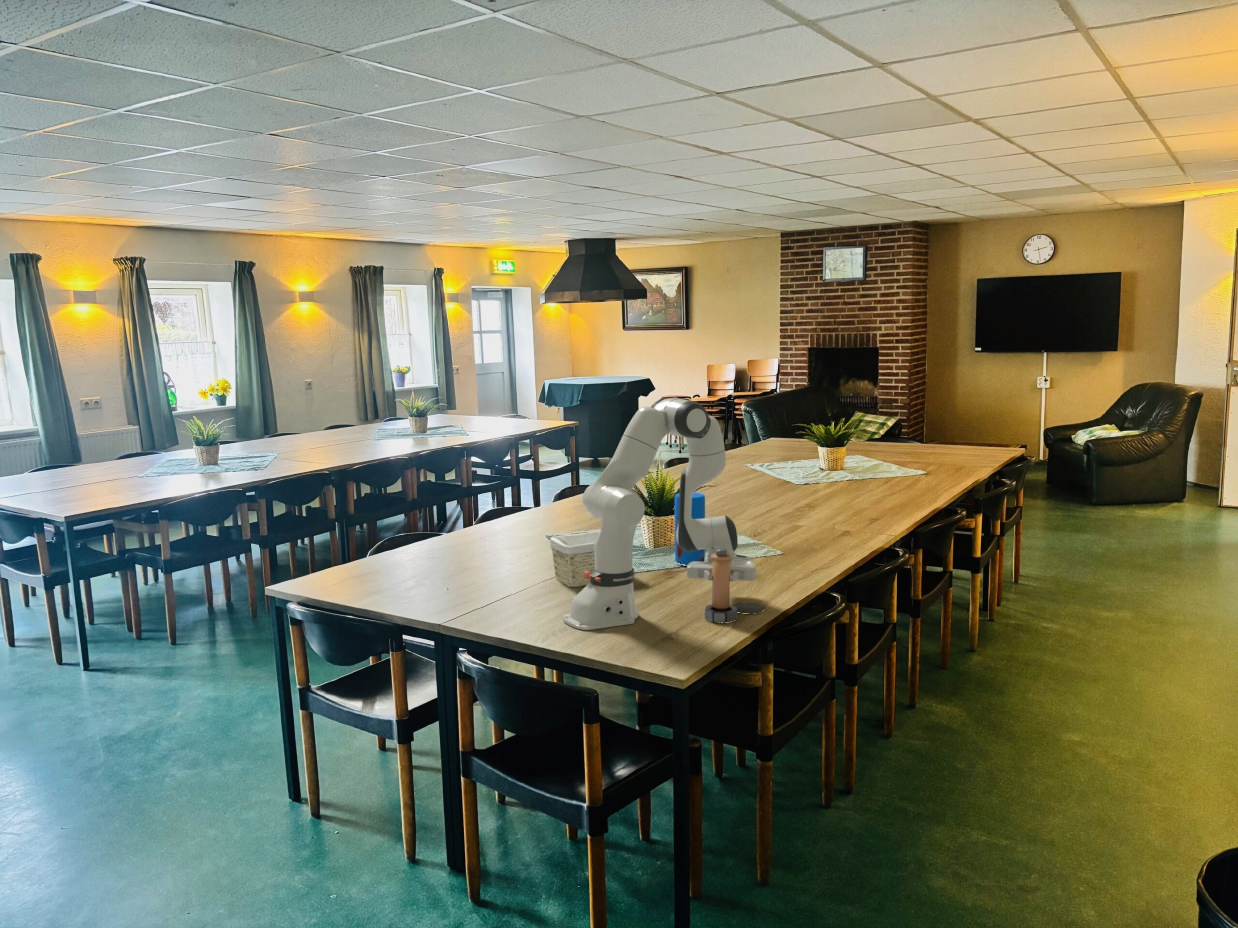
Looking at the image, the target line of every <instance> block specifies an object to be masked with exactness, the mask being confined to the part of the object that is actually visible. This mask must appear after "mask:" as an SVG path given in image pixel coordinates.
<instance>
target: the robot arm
mask: <svg viewBox="0 0 1238 928" xmlns="http://www.w3.org/2000/svg"><path fill="white" fill-rule="evenodd" d="M668 434H669V435H671V436H674V437H684V438H685V440H686V443H687V450H688V464H687V466H686V469H684V470H683V471H682V472H681V475H680V480H679V493H678V494H679V522H678V527H677V534H676V537H677V542H678V545H679V547H680V548H682V549H683V550H685V551H686V552H688V553H689V552H694V551H699V550H703V549H705V550H709V551H708V552H707V553H708V554H707V561H705V562H701V561H694V562H690V563H689V564H688V565H687V567H686V577H687V578H688V579H693V580H694V579H697V580H699V579H700V580H701V579H702V580H707V581H712V579H713V578H712V577H713V574H712V573H713V559H711V555H712V554H714V553H716V549H726V550H727V554H731V555H732V559H731V560H730V582H735V581H755V580H756V578H757V570H756V569H757V568H756V567H757V566H756V565H755V563H754V562H753V561H752V560H751V557H750V556H748V555H742V554H741V555H740V554H736V553H735V551H736V550H737V548H738V547H739V546H738V543H739V542H738V540H739V539H738V531H737V527H736V525H735V522H734V521H733V520H732V519H731V518H730V517H729V516H727V515H718V516H711V517H705V518H703V519H692V518H691V508H692V495H693V493H695V492H696V491H697V489H699V488H701V487H702V486H704V485H706V484H709V483H710V482H712V481H714V480H715V479H716V478H718V477H719V476H721V474H722V472H723V471H724V470H725V468H726V464H727V463H726V461H727V460H726V448H725V443H724V438H723V433H722V430H721V426H720V423H719V422H718V420H717V419H716V418H715V417H714V416H712V415H709V412H708V411H707V410H706V408H705V407H704V406H703V405H702V404H701V403H699V402H697V401H694V400H693V401H692V400H688V399H685V398H678V397H662V398H660V399H658V400H656V401H655V402H654V403H653V404H652V405H651V406H644V407H640V408H639V409H638V410H637V411H635V414H634V415H633V416H632V418H631V420H630V421H629V423H628V424H627V427H626V428H625V431H624V432H623V434H622V436H621V439H620V441H619V443H618V446H617V448H616V450H615V452H614V454H613V456H612V458H611V460H610V461H609V462H608V465H607V466H606V467H605V468H604V469H603V471H602V472H601V474H600V475H599V476H598V478H597V479H596V480H595V481H594V482H593V483H591V484H590V485H589V486H588V487H586V489H585V490H584V492H583V495H582V503H583V504H582V505H584V508H585V509H586V511H587V512H589V514H590V515H591V516H592V517H594V518H596V519H598V520H600V521H601V527H600V528H601V529H600V531H601V532H600V535H599V538H598V539H597V540H596V542H595V569H594V570H593V573H592V574H591V573H590V572H588V571H585V572H584V573H583V577H584V578H587V579H590V578H591V579H590V583H589V584H588V585H586V586H585V587H584V588H583V589H581V590H580V591H579V592H578V593H577V594H576V595H575V596H574V597H573V598H572V601H571V604H570V610H569V611H570V612H569V613H565V614H563V615H562V621H563V623H565V624H566V625H567V626H570V627H572V628H575V629H578V630H583V631H590V630H591V631H593V630H599V629H606V628H612V627H620V626H626V625H634V624H635V620H637V618H638V617H639V615H640V614H639V611H638V609H637V608H638V607H637V603H636V597H635V590H634V585H635V570H634V568H633V545H634V538H635V533H636V530H637V526H638V524H639V523H640V522H641V521H642V519H643V517H644V516H645V511H646V510H645V509H646V508H645V503H644V501H643V499H642V498H641V497H640V496H639V495H638V494H637V493H636V492H635V491H633V489H634V487H635V486H636V485H637V484H638V482H640V481H641V480H642V479H644V478H645V477H646V476H647V475H648V473H649V471H650V469H651V467H652V464H653V462H654V460H655V457H656V454H657V453H658V450H659V448H660V445H661V443H662V441H663V439H664V438H665V437H666V436H667V435H668Z"/></svg>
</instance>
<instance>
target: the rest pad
mask: <svg viewBox="0 0 1238 928" xmlns="http://www.w3.org/2000/svg"><path fill="white" fill-rule="evenodd" d="M731 605H732V606H735V607H737V612H740V613H749V614H753V613H759V612H762V611H763V610H764V609H765V606H764V605H762V604H760V603H756V602H736V603H734V604H731ZM765 610H766V609H765ZM762 613H763V612H762Z"/></svg>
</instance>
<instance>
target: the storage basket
mask: <svg viewBox="0 0 1238 928" xmlns="http://www.w3.org/2000/svg"><path fill="white" fill-rule="evenodd" d="M600 532H601V530H597V531H589V532H581V533H576V534H575V533H574V534H565V535H558V536H557V535H555V536H551V537H549V541H550V549H551V553H552V560H553V567H554V568H553V569H554V577H555V579H556V581H557V580H558V581H559V582H561V583H562V584H564V585H566V586H567V587H569V588H580V587H584V586H585V587H586V586H587V585H588V584H589V583H590V579H591V578H590V579H587V578H584V577H583V573H584V572H585V571H588V572H590V573H591V574H592V573H593V570H594V569H595V542H596V540H597V539H598V538H599V535H600Z"/></svg>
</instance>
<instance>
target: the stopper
mask: <svg viewBox="0 0 1238 928" xmlns="http://www.w3.org/2000/svg"><path fill="white" fill-rule="evenodd" d="M711 559H713V573H712V574H713V577H712V578H713V579H712V580H711V582H712V585H711V588H712V589H711V595H712V596H711V600H712V601H711V605H712V607H714V608H719V609H724V608H728V607H729V604H730V603H731V602H730V600H731V599H730V596H731V595H730V594H731V593H730V591H731V589H730V588H731V581H730V560H731V559H732V555H731V554H727V550H726V549H716V553H714V554H712V555H711Z"/></svg>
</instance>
